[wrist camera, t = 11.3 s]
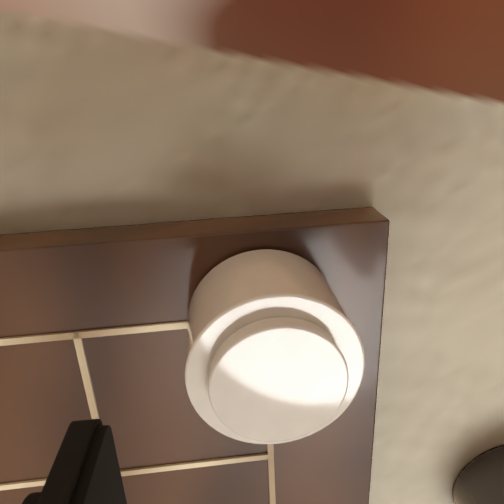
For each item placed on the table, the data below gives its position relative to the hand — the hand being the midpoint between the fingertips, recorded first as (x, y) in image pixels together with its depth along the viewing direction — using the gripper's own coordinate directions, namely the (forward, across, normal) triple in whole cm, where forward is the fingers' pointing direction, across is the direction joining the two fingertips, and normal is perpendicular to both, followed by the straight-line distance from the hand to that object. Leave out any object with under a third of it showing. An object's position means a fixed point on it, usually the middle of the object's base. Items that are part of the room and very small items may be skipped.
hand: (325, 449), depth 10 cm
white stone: (+5, +1, 0) cm, 5 cm away
